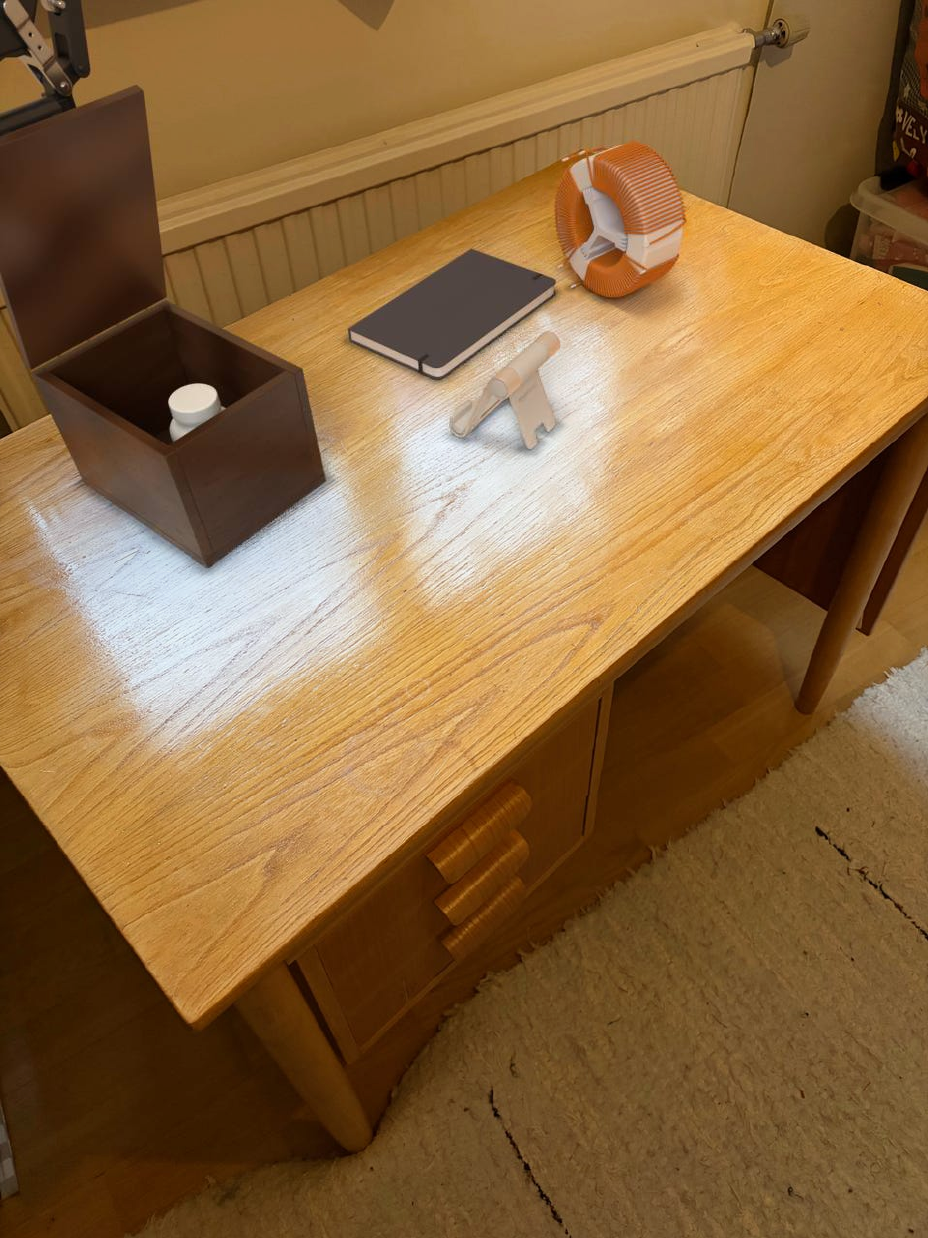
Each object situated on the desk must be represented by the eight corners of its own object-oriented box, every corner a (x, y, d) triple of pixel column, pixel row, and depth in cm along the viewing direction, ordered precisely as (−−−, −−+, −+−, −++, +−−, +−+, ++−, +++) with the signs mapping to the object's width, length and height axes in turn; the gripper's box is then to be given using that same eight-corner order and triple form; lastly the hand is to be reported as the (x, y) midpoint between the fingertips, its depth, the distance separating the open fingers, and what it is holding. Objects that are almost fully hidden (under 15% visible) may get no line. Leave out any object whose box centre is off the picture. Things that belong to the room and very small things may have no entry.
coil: (588, 253, 105) (598, 120, 94) (679, 303, 97) (702, 164, 86) (544, 272, 103) (549, 138, 92) (634, 326, 95) (652, 186, 84)
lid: (143, 89, 62) (95, 50, 63) (-36, 159, 56) (-87, 114, 57) (167, 297, 79) (128, 263, 80) (31, 370, 72) (-10, 332, 73)
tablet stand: (499, 388, 89) (499, 313, 82) (566, 414, 85) (571, 338, 79) (449, 434, 84) (445, 358, 78) (518, 463, 81) (519, 386, 75)
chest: (326, 480, 80) (303, 368, 71) (207, 568, 74) (165, 457, 65) (201, 409, 88) (165, 299, 79) (83, 482, 82) (30, 372, 72)
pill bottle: (229, 460, 81) (201, 369, 74) (264, 486, 79) (238, 395, 71) (180, 488, 79) (146, 398, 72) (213, 516, 76) (182, 426, 69)
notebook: (471, 260, 105) (349, 341, 95) (471, 247, 104) (347, 328, 94) (558, 292, 100) (438, 381, 90) (559, 279, 99) (437, 368, 88)
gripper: (-4, -168, 56) (91, 118, 69) (-231, -120, 49) (-78, 186, 62) (64, -155, 53) (150, 142, 66) (-168, -102, 46) (-20, 217, 59)
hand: (39, 162), depth 64 cm, fingers closed on lid, 5 cm apart
